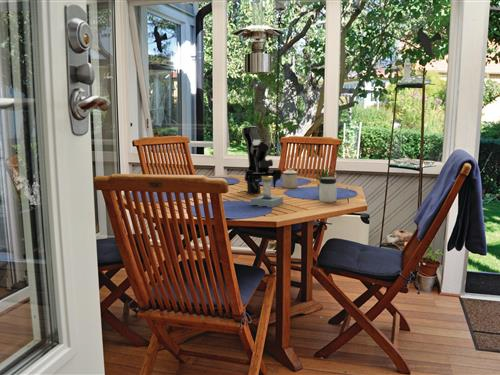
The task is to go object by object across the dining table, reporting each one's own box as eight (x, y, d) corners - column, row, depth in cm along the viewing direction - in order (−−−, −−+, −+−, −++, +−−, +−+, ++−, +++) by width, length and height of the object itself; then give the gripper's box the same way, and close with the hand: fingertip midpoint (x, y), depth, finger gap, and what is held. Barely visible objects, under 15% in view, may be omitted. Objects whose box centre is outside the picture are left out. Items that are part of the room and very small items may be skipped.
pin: (258, 203, 240) (259, 176, 238) (267, 202, 243) (268, 175, 241) (265, 205, 236) (265, 177, 234) (274, 204, 239) (274, 176, 237)
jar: (317, 201, 244) (317, 178, 242) (320, 198, 252) (321, 176, 250) (334, 202, 241) (335, 179, 239) (337, 200, 249) (338, 177, 247)
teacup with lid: (296, 185, 296) (296, 167, 294) (298, 188, 287) (298, 168, 285) (277, 186, 295) (277, 167, 293) (278, 188, 286) (278, 169, 284)
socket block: (250, 205, 237) (250, 199, 236) (261, 201, 247) (261, 195, 247) (272, 207, 231) (272, 201, 231) (282, 203, 241) (282, 197, 241)
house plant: (326, 199, 250) (327, 168, 248) (305, 196, 260) (305, 166, 257) (341, 195, 261) (341, 165, 258) (320, 192, 270) (320, 164, 267)
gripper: (245, 154, 241) (249, 179, 232) (281, 153, 245) (286, 178, 236) (242, 168, 250) (246, 192, 241) (277, 166, 254) (282, 191, 245)
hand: (265, 188), depth 241 cm, fingers open, 9 cm apart
